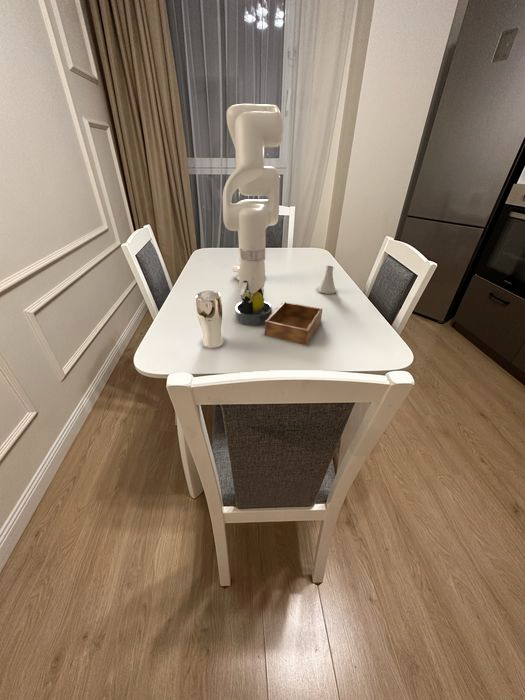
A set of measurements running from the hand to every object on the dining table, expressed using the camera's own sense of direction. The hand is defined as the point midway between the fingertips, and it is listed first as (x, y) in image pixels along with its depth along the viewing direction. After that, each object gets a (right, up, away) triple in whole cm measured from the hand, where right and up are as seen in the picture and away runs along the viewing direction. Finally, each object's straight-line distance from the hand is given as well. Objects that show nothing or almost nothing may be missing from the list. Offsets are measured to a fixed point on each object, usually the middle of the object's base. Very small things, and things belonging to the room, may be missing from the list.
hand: (253, 307), depth 95 cm
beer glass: (-12, -12, -11) cm, 20 cm away
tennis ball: (0, -1, +1) cm, 2 cm away
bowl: (0, -3, +2) cm, 4 cm away
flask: (+29, +10, +22) cm, 38 cm away
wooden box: (+13, -7, -4) cm, 15 cm away
